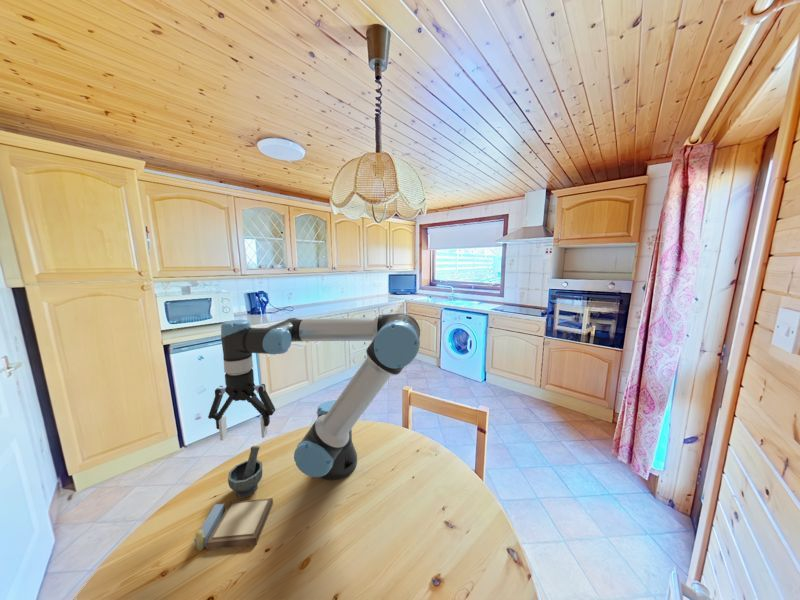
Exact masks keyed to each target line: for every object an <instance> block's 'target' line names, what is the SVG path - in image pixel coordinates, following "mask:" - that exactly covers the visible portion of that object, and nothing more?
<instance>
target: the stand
mask: <svg viewBox="0 0 800 600" xmlns="http://www.w3.org/2000/svg"><path fill="white" fill-rule="evenodd" d="M273 505H274V500H273V498H271V497H270V498H258V499H249V500H247V499H245V500H236V501H230V502H229V504H228V506H227V507H226V508H225V512H224V514H223V516H222V517H221V519H220V521H219V522H218V524H217V526H216V527H215V529H214V531H213V532H212V534H211V536H210V538H209V539H208V541H207V543H206V544H207V547H206V550H207V551H208V550H216V549H225V548H226V549H227V548H235V547H236V548H237V547H246V546H247V547H248V546H256V545H257V544H258V541H259V540H260V536H261V535H262V532H263V529H264V527H265V525H266V522H267V520H268V517H269V515H270V513H271V510H272V507H273Z"/></svg>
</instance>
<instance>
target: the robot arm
mask: <svg viewBox="0 0 800 600" xmlns="http://www.w3.org/2000/svg"><path fill="white" fill-rule="evenodd" d="M220 328H221V329H220V332H221V333H220V338H221V339H220V340H221V346H222V355H223V357H222V359H223V371H224V373H225V374H224V383H225V386H223V385H219V386H218V387H217V388H216V389H215V390H214V398H213V401H212V404H211V407H210V411H209V413H208V416H207V418H208V419H210V420H211V419H214V420H215V425H216V426H215V428H216V430H219V441H224V440H225V438H226V437H227V436H228V425H227V415H224V414H225V413H226V412H227V410H228V408H229V407H230V405H231V404H232V403H233V401H234V402H238V401H244V402H245V401H247V403H249V404H250V405H251V406H252V407H253V408H255V410H256V411H257V412H258V413H259V415H261V417H260V431H261V438H262V439H264V438H265V437H266V436H267V434H268V431H269V430H268V426H269V425H270V423H271V418H270V416H273V415H274V413H275V412H276V408H275V406H274V404H273V402H272V399H271V398H270V396H269V394H268V392H267V389H266V384H264V383H262V384H260V385H256V384H255V378H254V377H255V376H254V369H253V368H254V364H253V354H260V355H261V354H263V355H264V354H265V355H282V354H285V353H287V352H288V351H289V349H290V347H291V344H292V342H293V343H294V342H295V343H297V342H362V341H363V342H370V341H371V342H370V344H369V345H368V347H367V348H366V353H365V354H366V359H365V360H364V361H363V363H362V364H361V365H360V366H359V368H358V370H357V371H356V372H355V374H354V375H353V377H352V378H351V379H350V381H349V382H348V383H347V385H346V386H345V388H344V389H343V391H342V392H341V394H340V395H339V396H338V398H337V399H335V400H328V401H325V402H322V403H320V404H319V405H318V407H317V411H316V414H317V418H316V420H315V421H314V422H313V424H312V426H311V427H310V428H309V430H308V431H307V432H306V434H305V435H304V437H303V438H302V439H301V441H300V442H299V443H298V444H297V446H296V448H295V450H294V453H293V459H294V462H295V466H296V467H297V469H298V470H299V471H301V473H303V474H304V475H306V476H307V477H311V478H322V479H323V480H331V481H332V480H339V479H342V478H344V477H346V476H348V475H350V474H351V473H352V472H353V471H354V470H355V468H356V467H357V465H358V453H357V451H356V448H355V445H354V443H353V440H352V439H353V437H352V436H353V435H352V433H353V432H352V430H353V427H354V426H355V425H356V424H357V422H358V421H359V420H360V418H361V417H362V415H363V414H364V413H365V411H366V410H367V409H368V408H369V406H370V404H372V402H373V400H374V399H375V398H376V396H377V395H378V394H379V392H380V391H381V390H382V389H383V388H384V386H385V384H386V383H387V382H388V380H389V379H390V378H391V377H392V376H397V375H400V374H401V372H402V371H403V370H404V368H405V367H406V366H408V365H409V364H410V363H412V361H414V360H415V358H416V356H417V355H418V353H419V349H420V343H421V342H420V341H421V340H420V337H421V329H420V325H419V323H418V321H417V320H416V319H415V318H414V317H412V316H411V315H410V314H406V313H400V312H399V313H389V314H388V313H387V314H377V316H376V317H360V318H359V317H358V318H357V317H354V318H353V317H351V318H313V319H312V318H310V319H309V318H307V319H302V318H300V317H291V318H287V319H285V320H283V321H281V322H280V321H279V322H278V323H276V324H273V325H271V326H268V327H258V328H257V327H251V323H250V321H249V320H246V319H234V320H233V319H232V320H227V321H225V322H223V323H222V324H221V326H220ZM255 391H256V392H255ZM224 394H227V395H228V398H227V399H226V401H224V403H223V405H222V407H221V408H220V405H221V401H222V399H223V396H224ZM257 394H258V395H259V398H258V395H257ZM219 409H220V410H219Z"/></svg>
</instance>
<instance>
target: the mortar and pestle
mask: <svg viewBox="0 0 800 600" xmlns="http://www.w3.org/2000/svg"><path fill="white" fill-rule="evenodd" d="M260 449H261V448H260V446H259V445H252V446H251V447H250V452H249V456H248V460H244V461H243V462H240V463H238V464H236V465H234V467H233V468H231V470H230V471H229V472H228V478H227V484H228V486H229V488H230V490H232V491H233V492H235V496H236V497H237V498H239V499H243V498H244V499H245V498H248V497H250V496H251V495H253V494H255V492H256V491H257V490H258V489H259V487H258V485H259V482H260V481H261V479H262V477H263V462H261V461H259V460H258V454H259V450H260Z"/></svg>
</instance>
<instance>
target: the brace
mask: <svg viewBox="0 0 800 600" xmlns="http://www.w3.org/2000/svg"><path fill="white" fill-rule="evenodd" d="M225 511H226V504H225V503H224V502H223V503H218V504H214V506H213V507H212V509H211V511H210V512H209V513H208V516H207V518H206V519H205V521H204V522H203V524H202V526H201V527H200V529H199V530H197V531H196V532H195V538H194V543H195V549H196V550H197V551H198V552H200V551H203V550H204V548H207V544H206V543H207V541H208V539H209V538H210V536H211V534H212V532H213V531H214V529H215V527H216V526H217V524H218V522H219V521H220V519H221V517H222V516H223V514H224V512H225Z"/></svg>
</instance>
